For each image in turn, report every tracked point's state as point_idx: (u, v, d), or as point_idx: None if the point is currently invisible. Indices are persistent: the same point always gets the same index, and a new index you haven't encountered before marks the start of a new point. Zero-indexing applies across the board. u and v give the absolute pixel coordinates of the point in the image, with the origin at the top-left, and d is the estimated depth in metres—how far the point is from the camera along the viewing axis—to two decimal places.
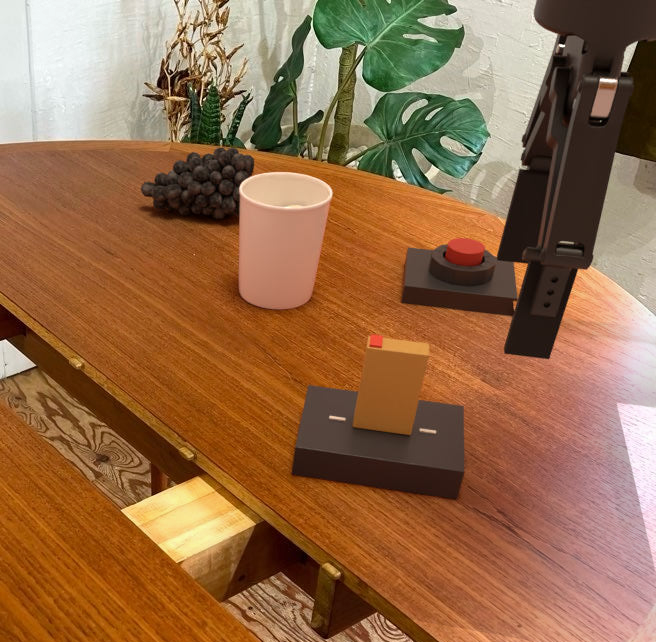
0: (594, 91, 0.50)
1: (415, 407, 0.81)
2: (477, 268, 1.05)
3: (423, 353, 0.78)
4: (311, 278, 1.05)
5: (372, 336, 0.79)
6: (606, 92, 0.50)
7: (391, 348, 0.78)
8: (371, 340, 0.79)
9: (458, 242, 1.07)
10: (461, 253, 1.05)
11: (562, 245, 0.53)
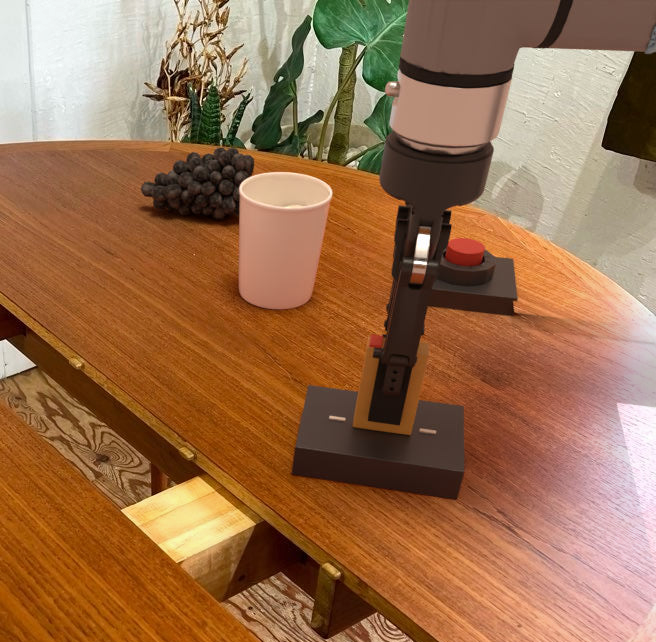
0: (409, 274, 0.68)
1: (415, 407, 0.81)
2: (477, 268, 1.05)
3: (423, 353, 0.78)
4: (311, 278, 1.05)
5: (372, 336, 0.79)
6: (418, 275, 0.68)
7: None
8: (371, 340, 0.79)
9: (458, 242, 1.07)
10: (461, 253, 1.05)
11: None
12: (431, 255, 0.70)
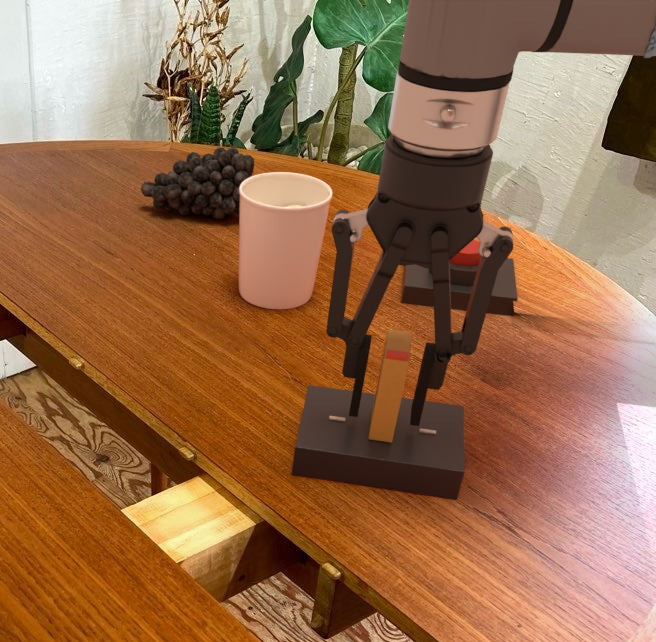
0: None
1: None
2: (477, 268, 1.05)
3: (410, 334, 0.80)
4: (311, 278, 1.05)
5: (391, 355, 0.77)
6: None
7: (405, 349, 0.78)
8: (399, 356, 0.77)
9: None
10: (461, 253, 1.05)
11: None
12: None
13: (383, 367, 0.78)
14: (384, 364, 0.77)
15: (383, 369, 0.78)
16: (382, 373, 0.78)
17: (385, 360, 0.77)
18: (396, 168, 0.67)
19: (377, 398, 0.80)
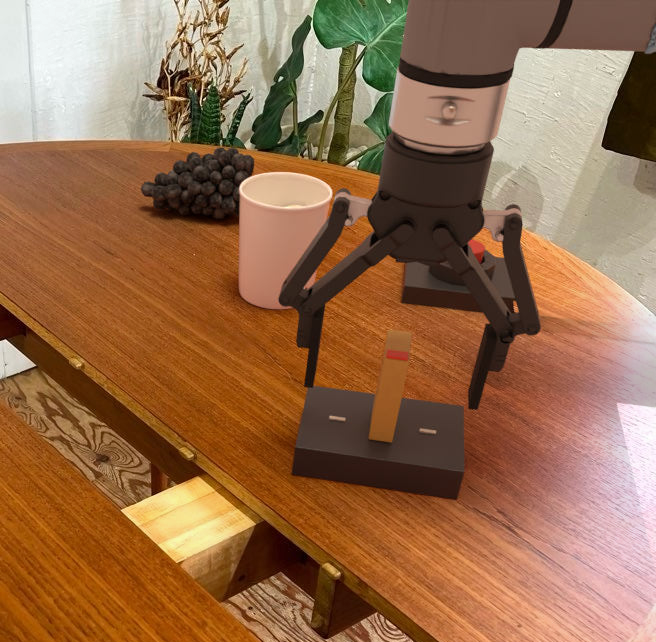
0: None
1: None
2: None
3: (410, 334, 0.80)
4: (311, 278, 1.05)
5: (391, 355, 0.77)
6: None
7: (405, 349, 0.78)
8: (399, 356, 0.77)
9: None
10: None
11: None
12: None
13: (383, 367, 0.78)
14: (384, 364, 0.77)
15: (383, 369, 0.78)
16: (382, 373, 0.78)
17: (385, 360, 0.77)
18: (397, 166, 0.67)
19: (377, 398, 0.80)
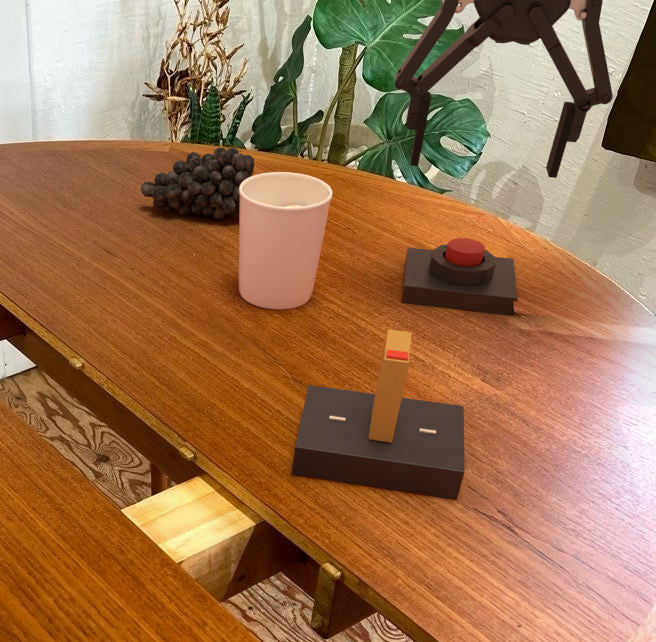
0: None
1: None
2: (477, 268, 1.05)
3: (410, 334, 0.80)
4: (311, 278, 1.05)
5: (391, 355, 0.77)
6: None
7: (405, 349, 0.78)
8: (399, 356, 0.77)
9: (458, 242, 1.07)
10: (461, 253, 1.05)
11: None
12: None
13: (383, 367, 0.78)
14: (384, 364, 0.77)
15: (383, 369, 0.78)
16: (382, 373, 0.78)
17: (385, 360, 0.77)
18: None
19: (377, 398, 0.80)
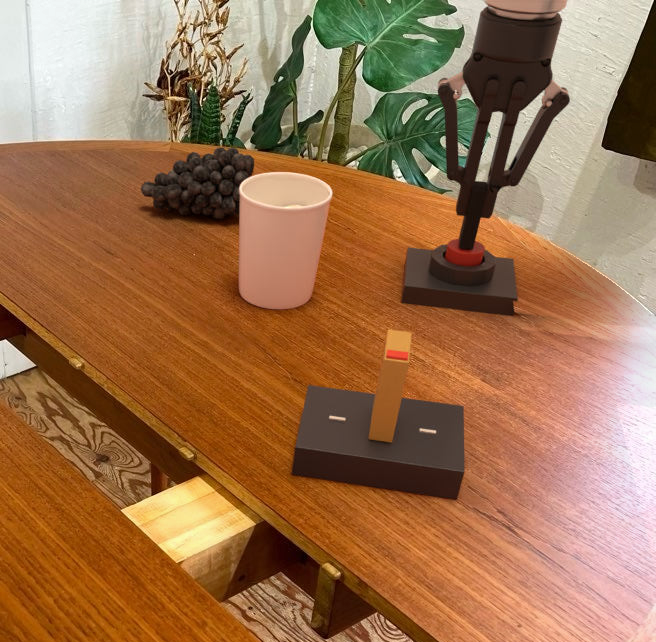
0: None
1: None
2: (477, 268, 1.05)
3: (410, 334, 0.80)
4: (311, 278, 1.05)
5: (391, 355, 0.77)
6: None
7: (405, 349, 0.78)
8: (399, 356, 0.77)
9: (458, 242, 1.07)
10: (461, 254, 1.05)
11: None
12: None
13: (383, 367, 0.78)
14: (384, 364, 0.77)
15: (383, 369, 0.78)
16: (382, 373, 0.78)
17: (385, 360, 0.77)
18: (490, 30, 0.90)
19: (377, 398, 0.80)
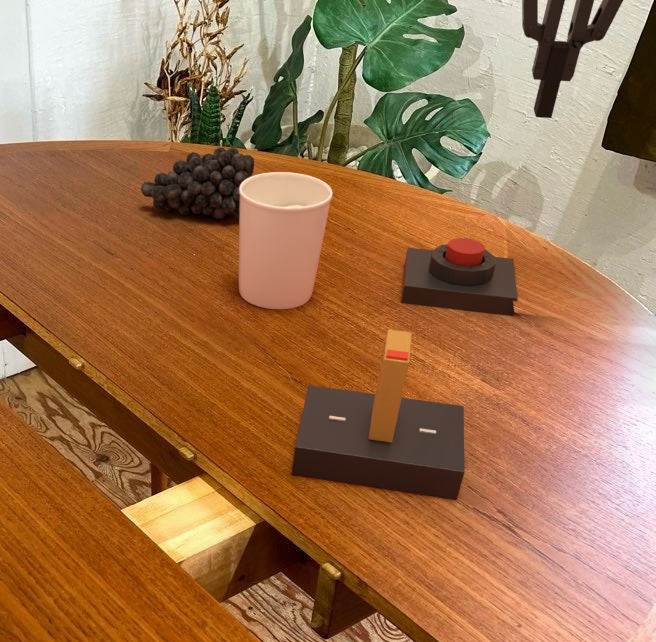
0: None
1: None
2: (477, 268, 1.05)
3: (410, 334, 0.80)
4: (311, 278, 1.05)
5: (391, 355, 0.77)
6: None
7: (405, 349, 0.78)
8: (399, 356, 0.77)
9: (458, 242, 1.07)
10: (461, 253, 1.05)
11: None
12: None
13: (383, 367, 0.78)
14: (384, 364, 0.77)
15: (383, 369, 0.78)
16: (382, 373, 0.78)
17: (385, 360, 0.77)
18: None
19: (377, 398, 0.80)
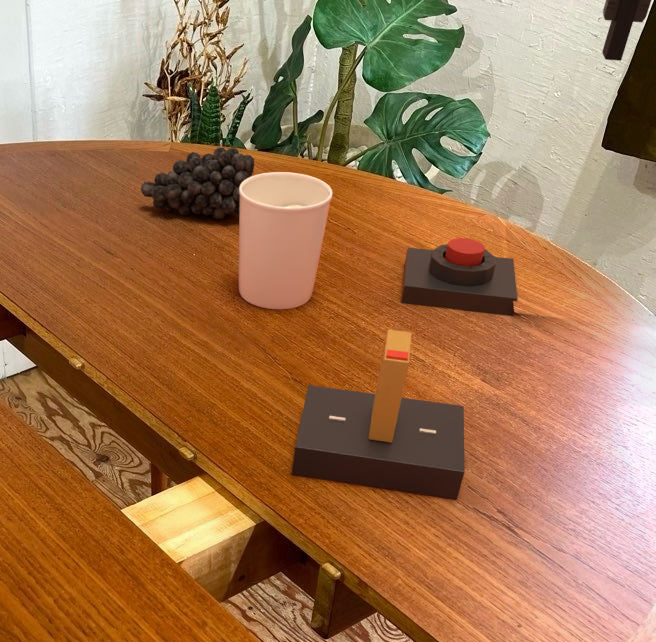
0: None
1: None
2: (477, 268, 1.05)
3: (410, 334, 0.80)
4: (311, 278, 1.05)
5: (391, 355, 0.77)
6: None
7: (405, 349, 0.78)
8: (399, 356, 0.77)
9: (458, 242, 1.07)
10: (461, 253, 1.05)
11: None
12: None
13: (383, 367, 0.78)
14: (384, 364, 0.77)
15: (383, 369, 0.78)
16: (382, 373, 0.78)
17: (385, 360, 0.77)
18: None
19: (377, 398, 0.80)
